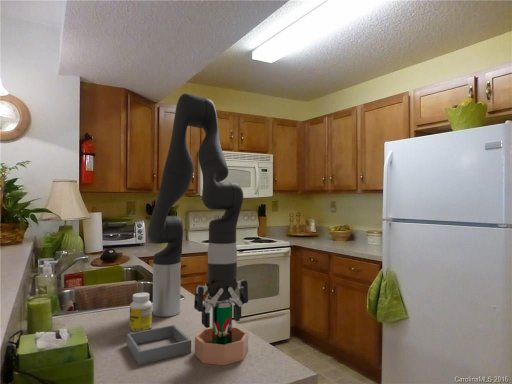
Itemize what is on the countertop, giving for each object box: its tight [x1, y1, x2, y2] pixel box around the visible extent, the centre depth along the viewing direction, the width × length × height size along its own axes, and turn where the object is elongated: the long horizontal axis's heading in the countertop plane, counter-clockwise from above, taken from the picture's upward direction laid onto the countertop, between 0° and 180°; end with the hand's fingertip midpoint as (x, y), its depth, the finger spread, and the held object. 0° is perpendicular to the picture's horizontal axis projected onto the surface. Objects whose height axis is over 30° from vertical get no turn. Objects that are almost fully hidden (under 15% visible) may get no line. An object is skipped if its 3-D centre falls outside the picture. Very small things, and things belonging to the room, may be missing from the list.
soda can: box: [211, 299, 233, 345], centre depth 89 cm, size 5×5×12 cm
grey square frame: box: [126, 324, 192, 366], centre depth 91 cm, size 13×13×3 cm
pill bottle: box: [129, 292, 153, 334], centre depth 102 cm, size 6×6×11 cm
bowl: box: [194, 326, 249, 366], centre depth 89 cm, size 13×13×4 cm
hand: (221, 323), depth 89 cm, fingers open, 8 cm apart
